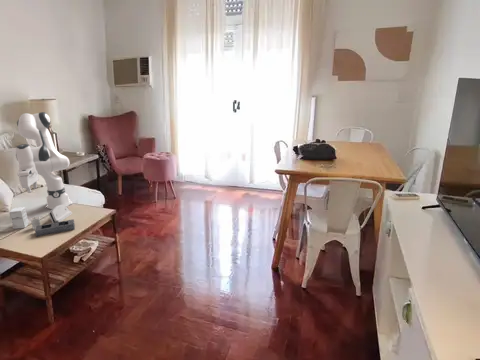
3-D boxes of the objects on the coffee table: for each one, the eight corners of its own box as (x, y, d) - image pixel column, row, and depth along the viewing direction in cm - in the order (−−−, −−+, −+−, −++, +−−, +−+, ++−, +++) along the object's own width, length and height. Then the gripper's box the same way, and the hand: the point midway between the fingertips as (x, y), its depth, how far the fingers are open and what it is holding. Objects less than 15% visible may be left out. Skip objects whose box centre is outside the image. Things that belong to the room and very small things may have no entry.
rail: (37, 231, 223) (36, 225, 222) (74, 224, 232) (73, 219, 230) (36, 236, 216) (35, 231, 214) (74, 229, 224) (73, 223, 223)
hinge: (58, 222, 235) (51, 210, 233) (53, 224, 236) (46, 212, 234) (72, 213, 251) (66, 201, 248) (67, 215, 252) (60, 203, 249)
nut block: (33, 227, 229) (31, 217, 227) (40, 226, 231) (38, 215, 229) (33, 229, 226) (30, 219, 223) (40, 228, 227) (37, 218, 225)
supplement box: (13, 229, 227) (8, 211, 223) (17, 224, 234) (13, 207, 230) (25, 228, 229) (21, 210, 225) (29, 223, 236) (25, 206, 232)
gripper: (28, 166, 228) (33, 186, 232) (16, 174, 209) (21, 195, 212) (39, 165, 229) (43, 185, 233) (27, 173, 210) (32, 194, 214)
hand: (32, 190), depth 222 cm, fingers open, 8 cm apart
